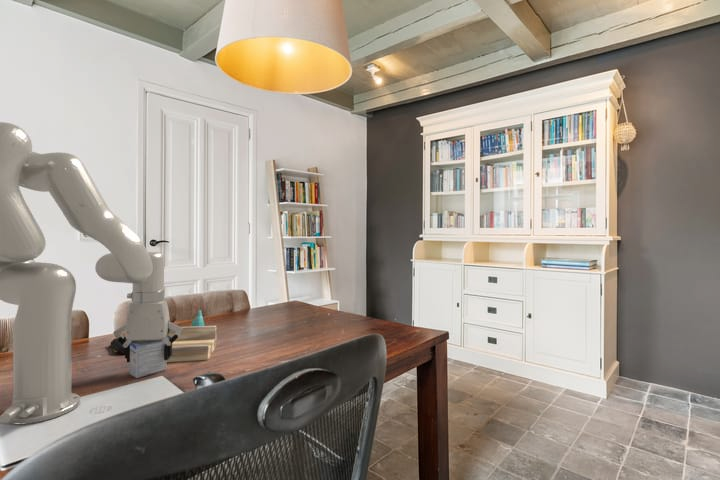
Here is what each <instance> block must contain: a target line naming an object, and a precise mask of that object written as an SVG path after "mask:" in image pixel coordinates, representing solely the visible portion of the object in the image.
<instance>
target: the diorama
mask: <svg viewBox="0 0 720 480" xmlns="http://www.w3.org/2000/svg"><path fill="white" fill-rule="evenodd" d="M204 321H205V320H204V317H203V313H202V310H201V309H199V310H198V311H197V316H196V317H195V318H193V320H192V322H191V323H190V326H189V327H191V326H206V325H205V322H204Z"/></svg>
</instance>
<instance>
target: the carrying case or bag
mask: <svg viewBox="0 0 720 480" xmlns="http://www.w3.org/2000/svg"><path fill="white" fill-rule="evenodd" d="M124 337H125V336H124ZM125 338H126V337H125ZM134 342H138V341H133V342H132V343H134ZM110 347H112V352H113V353H116V354H121V355H124V356H125V348H124V347H123V345H122V344H121V343H119V342H118V340H117V338H116V337H115V338H114V339H112V341H110Z"/></svg>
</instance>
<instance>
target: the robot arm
mask: <svg viewBox="0 0 720 480" xmlns="http://www.w3.org/2000/svg"><path fill="white" fill-rule="evenodd" d="M20 187H21V188H24V189H28V190H31V191H36V192H43V193H45V192H47V193H49V194H50V196H51V197H52V198H53V200H54V202H55V203H56V204H57V206H58V208H59V209H60V211H61V212H62V214H63V216H64V217H65V219H66V221H67V222H68V223H69V225H70V226H71V227H72V228H73V229H74V230H76V231H78V232H79V233H81V234H83V235H85V236H87V237H88V238H91V239H93V240H95V241H97V242H99V244H101V245H102V246H104V247H105V248H106V249H107V250H108V251H109V253H107V254H104V255H102V256H101V257H99V258H98V260H97V261H96V263H95V273H96V274H97V276H98V277H99V278H101V279H102V280H104V281H107V282H113V283H123V284H124V283H125V284H132V291H131V292H130V293H127V294H126V299H131V302H130V303H129V304H128V307H127V313H126V319H125V320H126V321H125V325H123V326H121V327H119V328H118V329H116V330H114V331H113V332H112V333H113V335H114V337H115V338H117V340H118V342H119V343H121V344H122V345H123V347H124V348H125V355H124V359H126V363H130V343H132V342H133V341H146V340H161V339H162V340H163V341H164V343H165V344H166V345H165V346H164V360H168V359H169V358H170V356H171V355H172V343H173V342H174V341H175V340H176V339H177V338H178V337H179V335H180V334H181V332H182V330H183V328H182V327H183V326H179V325H177V324H176V323H173V322H171V319H170V310H169V305H168V302H167V300H165V257H164V254H163V253H161V252H158V251H157V252H156V251H148V250H147V248H146V247H145V245H144V242H143V241H142V239H141V238H140V237H139V235H138V234H137V233H135V232H134V230H133V229H131V228H130V226H128V225H127V224H126V223H125V222H124V221H123V220H122V219H120V218H119V217H118V216H116V215H115V213H113V212H112V210H111V209H110V208H109V205H107V202H106V201H105V199H104V197H103V195H102V194H101V192H100V190H99V189H98V187H97V185H96V183H95V182H94V179H93V178H92V176H91V175H90V173H89V172H88V169H87V167H86V166H85V165H84V163H83V162H82V160H80V158H78V157H77V156H76V155H74V154H71V153H68V152H48V153H38V152H34V151H33V143H32V140H31V138H30V136H29V134H28V133H27V132H26V131H25V130H24V129H23V128H21V127H20V126H18V125H16V124H14V123H11V122H10V123H9V122H3V121H0V301H2V302H4V303H7V304H11V305H15V306H17V310H16V315H15V318H14V321H13V325H12V326H13V327H12V343H13V344H12V345H13V346H12V350H13V351H12V364H13V365H12V366H13V368H12V371H13V372H12V373H13V375H12V376H13V379H12V382H13V385H12V386H13V387H12V388H13V391H12V392H13V393H12V395H13V396H12V400H11V406H9V407H8V408H6V410H4V412H3V413H2V414H0V423H2V424H10V423H28V424H31V423H30V422H35V423H39V421H40V422H44V421H47V420H51V419H52V420H53V419H54V417H55V418H56V417H57V416H58V417H60V416H62V414H63V415H65V414H67V413H70V412H71V411H73V410H74V409H75V408H77V407H78V406H79V405H80V404H81V396H80V395H79V394H78V393H73V392H72V315H73V314H72V313H73V308H74V301H75V299H76V298H75V297H76V293H77V292H76V291H77V283H76V279H75V277H74V275H73V273H72V272H71V271H70V270H69V269H67V268H65V267H63V266H62V265H59V264H55V263H50V262H39V261H37V262H36V261H35V259H37V258H38V257H39V256H41V255H42V253H43V252H44V251H45V249H46V244H47V243H46V237H45V235H44V233H43V230H42V229H41V227H40V225H39V224H38V222H37V221H36V218H35V217H34V215H33V213H32V211H31V210H30V208H29V206H28V204H27V202H26V200H25V198H24V196H23V194H22V191H21V189H20ZM170 329H172V330H174V331H175V334H174V336H173V337H171V336H170V335H169V333H170ZM123 332H124V333H125V334H124V335H125V336H124V335H123ZM125 337H126V338H125ZM64 413H65V414H64ZM8 422H10V423H8Z"/></svg>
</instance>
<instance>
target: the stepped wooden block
mask: <svg viewBox="0 0 720 480" xmlns="http://www.w3.org/2000/svg"><path fill="white" fill-rule="evenodd" d="M190 326H191V325H190ZM190 326H181V327H182V328H183V330H182V332H181V334H180V335H179V337H178V338H177V339H176V340H175V341H174V342H173V343H172V355H171V356H170V358H169V359H168V360H166V363H174V362H175V363H176V362H190V361H191V362H192V361H209V359H210V358H211V356H212V354H213V353H214V350H215V349H216V348H217V325H205V326H191V327H190ZM174 334H175V331H174V330H172V329H170V333H169V335H170V336H171V337H173V336H174Z"/></svg>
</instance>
